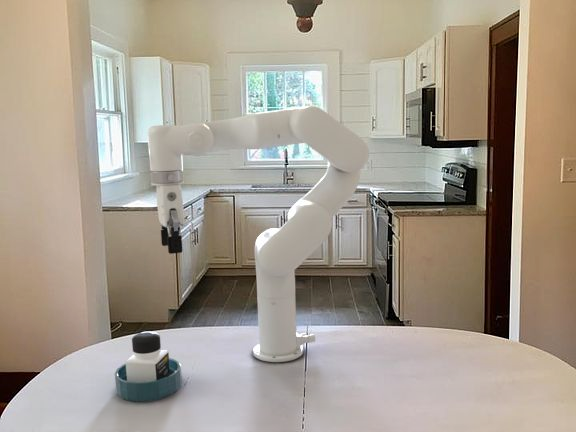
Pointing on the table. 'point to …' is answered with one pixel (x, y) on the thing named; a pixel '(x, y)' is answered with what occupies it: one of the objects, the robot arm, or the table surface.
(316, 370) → the table surface
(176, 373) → the dish
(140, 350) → the medicine bottle
